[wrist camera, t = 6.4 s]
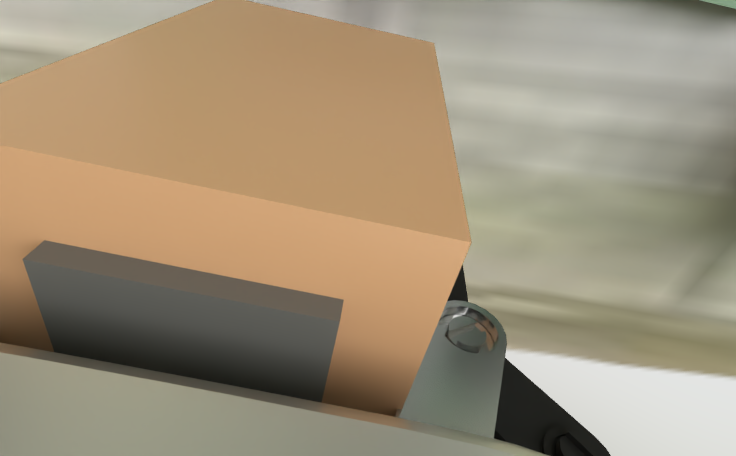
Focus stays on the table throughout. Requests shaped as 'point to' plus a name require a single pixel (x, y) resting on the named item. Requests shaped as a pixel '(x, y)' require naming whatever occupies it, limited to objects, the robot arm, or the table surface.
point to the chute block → (235, 204)
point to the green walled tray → (723, 3)
